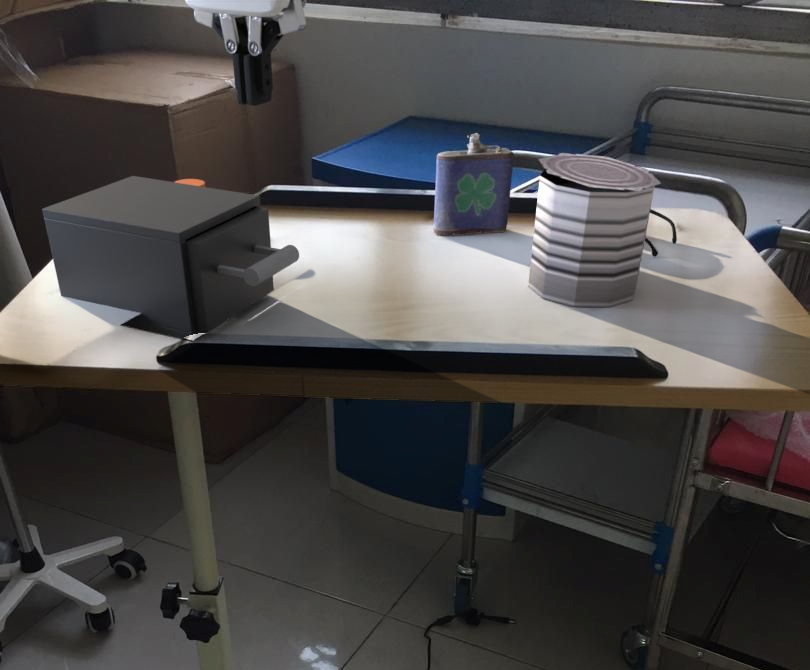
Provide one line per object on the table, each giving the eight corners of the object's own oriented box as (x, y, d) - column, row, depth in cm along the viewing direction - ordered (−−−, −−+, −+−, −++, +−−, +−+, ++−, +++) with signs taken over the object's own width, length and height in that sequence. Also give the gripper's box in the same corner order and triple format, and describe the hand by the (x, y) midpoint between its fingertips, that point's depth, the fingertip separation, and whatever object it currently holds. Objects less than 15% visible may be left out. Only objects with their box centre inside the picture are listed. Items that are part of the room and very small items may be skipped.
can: (558, 260, 98) (573, 145, 91) (655, 284, 93) (679, 163, 86) (506, 290, 91) (518, 166, 84) (608, 317, 85) (630, 188, 78)
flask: (436, 237, 104) (440, 139, 98) (429, 229, 106) (433, 133, 100) (510, 232, 106) (519, 136, 100) (501, 225, 108) (510, 130, 102)
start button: (194, 204, 100) (192, 188, 99) (168, 200, 101) (166, 184, 100) (212, 196, 103) (211, 181, 102) (187, 192, 104) (185, 177, 103)
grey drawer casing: (267, 295, 88) (260, 195, 83) (193, 341, 79) (179, 233, 73) (147, 271, 93) (132, 175, 87) (64, 312, 84) (41, 208, 78)
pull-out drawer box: (313, 298, 86) (309, 215, 81) (249, 341, 77) (241, 252, 73) (160, 268, 91) (149, 189, 87) (86, 305, 83) (69, 220, 78)
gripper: (129, -157, 69) (162, 101, 80) (293, -156, 64) (305, 119, 75) (187, -153, 75) (211, 88, 86) (343, -151, 70) (347, 104, 81)
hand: (255, 102), depth 80 cm, fingers closed
